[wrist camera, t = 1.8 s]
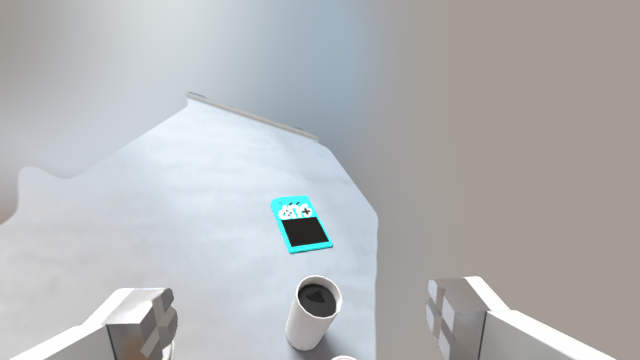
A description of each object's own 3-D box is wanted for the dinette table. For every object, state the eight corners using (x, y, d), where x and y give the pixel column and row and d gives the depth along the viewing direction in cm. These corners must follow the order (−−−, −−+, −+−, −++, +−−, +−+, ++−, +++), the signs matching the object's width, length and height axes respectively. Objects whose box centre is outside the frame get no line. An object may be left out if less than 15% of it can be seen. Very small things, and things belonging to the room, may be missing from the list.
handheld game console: (306, 198, 75) (308, 194, 75) (333, 248, 64) (334, 244, 64) (267, 201, 71) (268, 197, 70) (288, 255, 60) (290, 251, 59)
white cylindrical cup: (275, 321, 48) (287, 284, 42) (310, 305, 52) (326, 269, 46) (294, 362, 44) (311, 327, 38) (331, 342, 48) (351, 307, 42)
